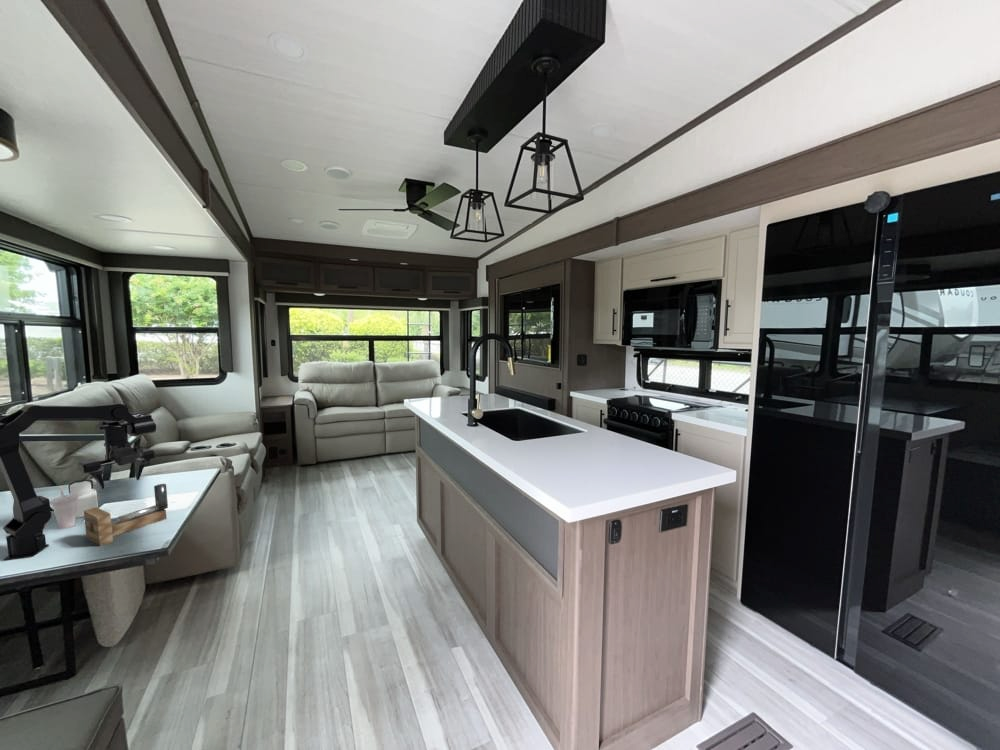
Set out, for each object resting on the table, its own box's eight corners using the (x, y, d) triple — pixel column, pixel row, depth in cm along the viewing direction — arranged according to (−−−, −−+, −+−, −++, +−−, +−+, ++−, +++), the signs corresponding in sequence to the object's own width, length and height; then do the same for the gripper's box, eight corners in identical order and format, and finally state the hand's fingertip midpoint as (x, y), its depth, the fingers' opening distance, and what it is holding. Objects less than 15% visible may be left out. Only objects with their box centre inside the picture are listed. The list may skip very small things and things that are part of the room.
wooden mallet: (100, 545, 122) (97, 517, 121) (86, 538, 127) (83, 510, 126) (172, 521, 138) (169, 495, 137) (157, 515, 143) (155, 490, 142)
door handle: (121, 523, 129) (119, 498, 128) (117, 521, 130) (114, 496, 129) (169, 508, 140) (167, 484, 140) (165, 506, 142) (163, 483, 141)
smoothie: (47, 531, 131) (42, 490, 129) (62, 522, 137) (58, 483, 135) (71, 529, 132) (67, 488, 131) (85, 520, 139) (81, 481, 137)
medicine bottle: (70, 513, 144) (66, 481, 143) (98, 507, 149) (94, 476, 148) (68, 520, 139) (65, 486, 138) (97, 513, 144) (94, 481, 143)
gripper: (88, 450, 124) (93, 498, 125) (161, 436, 140) (165, 479, 142) (74, 445, 129) (79, 492, 130) (146, 432, 145) (150, 474, 147)
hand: (120, 484), depth 137 cm, fingers open, 9 cm apart
